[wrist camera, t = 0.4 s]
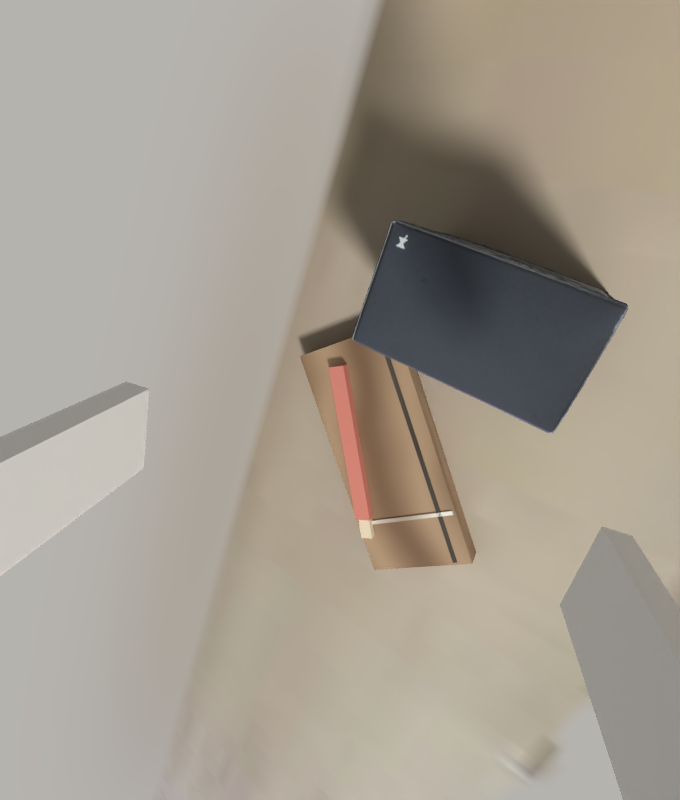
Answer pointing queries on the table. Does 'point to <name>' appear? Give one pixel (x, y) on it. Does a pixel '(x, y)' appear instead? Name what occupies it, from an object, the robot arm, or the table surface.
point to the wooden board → (394, 459)
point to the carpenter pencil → (352, 448)
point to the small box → (486, 322)
